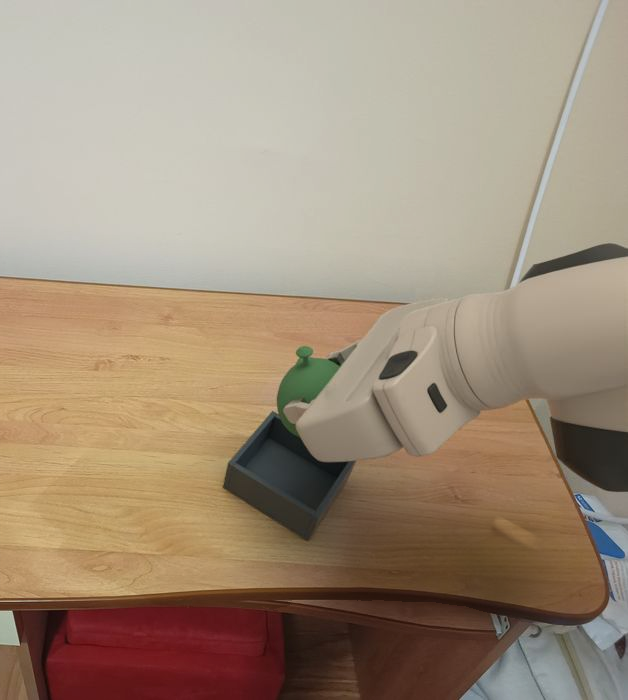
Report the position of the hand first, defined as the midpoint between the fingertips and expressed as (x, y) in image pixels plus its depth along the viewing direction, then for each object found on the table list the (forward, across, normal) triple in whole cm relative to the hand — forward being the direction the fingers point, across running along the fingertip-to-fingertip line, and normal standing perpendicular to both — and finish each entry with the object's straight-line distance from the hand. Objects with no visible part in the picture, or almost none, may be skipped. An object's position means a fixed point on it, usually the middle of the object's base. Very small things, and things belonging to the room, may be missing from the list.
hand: (309, 387), depth 60 cm
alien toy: (+4, 0, +4) cm, 6 cm away
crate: (+10, 0, +12) cm, 16 cm away
